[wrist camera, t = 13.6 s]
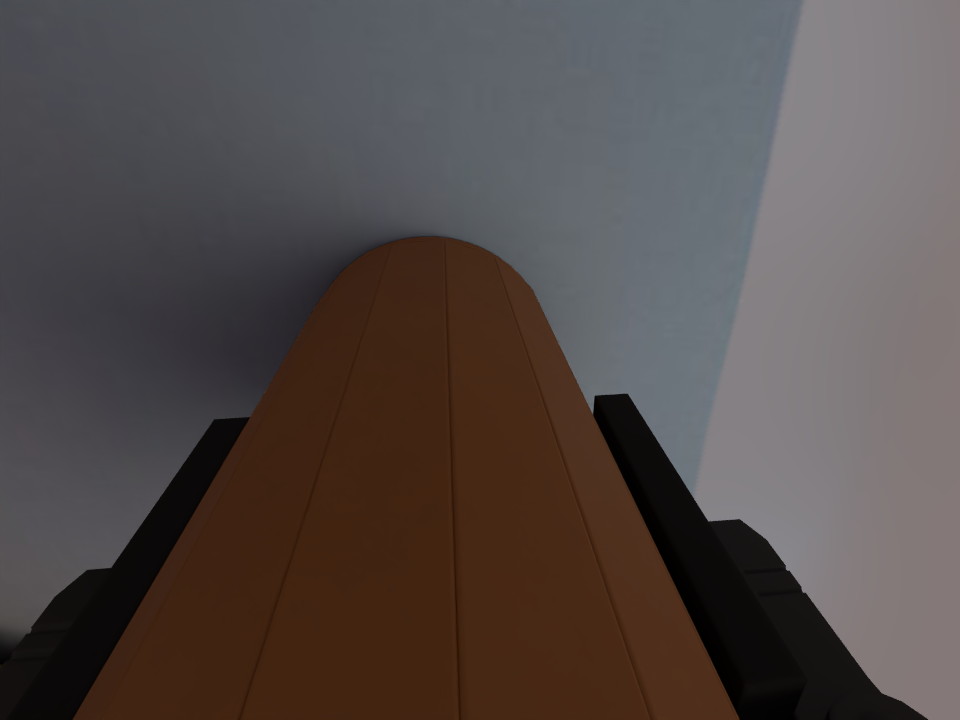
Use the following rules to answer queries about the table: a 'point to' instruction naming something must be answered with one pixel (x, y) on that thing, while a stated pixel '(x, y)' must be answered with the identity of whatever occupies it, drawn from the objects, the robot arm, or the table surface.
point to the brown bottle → (416, 531)
